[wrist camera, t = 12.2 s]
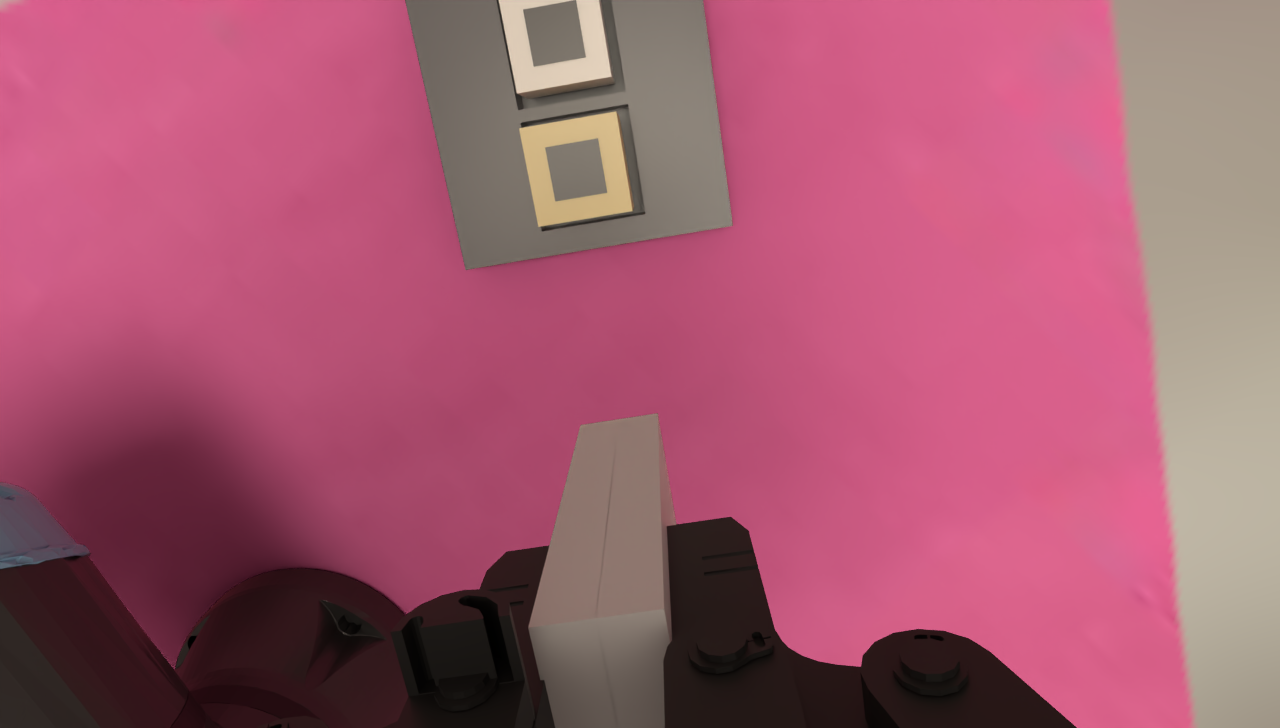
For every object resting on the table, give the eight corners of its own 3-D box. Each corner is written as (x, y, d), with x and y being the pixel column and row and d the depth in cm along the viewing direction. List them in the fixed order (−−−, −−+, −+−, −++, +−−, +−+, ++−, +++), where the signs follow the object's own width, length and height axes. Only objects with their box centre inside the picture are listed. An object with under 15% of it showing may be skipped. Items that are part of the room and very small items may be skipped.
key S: (547, 221, 39) (538, 227, 35) (530, 130, 37) (518, 128, 34) (634, 206, 38) (632, 211, 35) (619, 115, 37) (615, 111, 34)
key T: (528, 98, 38) (516, 93, 35) (510, 4, 37) (496, -11, 34) (614, 83, 38) (611, 76, 35) (599, -12, 37) (594, -29, 34)
